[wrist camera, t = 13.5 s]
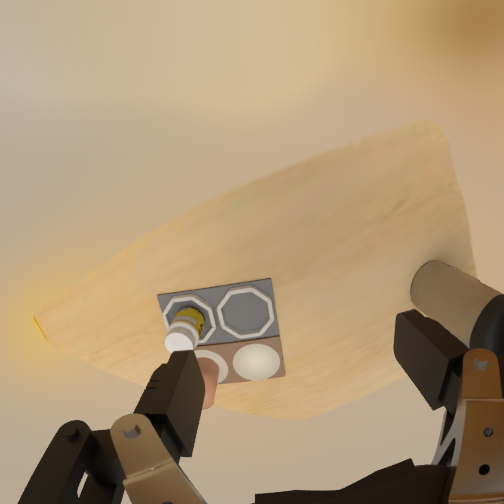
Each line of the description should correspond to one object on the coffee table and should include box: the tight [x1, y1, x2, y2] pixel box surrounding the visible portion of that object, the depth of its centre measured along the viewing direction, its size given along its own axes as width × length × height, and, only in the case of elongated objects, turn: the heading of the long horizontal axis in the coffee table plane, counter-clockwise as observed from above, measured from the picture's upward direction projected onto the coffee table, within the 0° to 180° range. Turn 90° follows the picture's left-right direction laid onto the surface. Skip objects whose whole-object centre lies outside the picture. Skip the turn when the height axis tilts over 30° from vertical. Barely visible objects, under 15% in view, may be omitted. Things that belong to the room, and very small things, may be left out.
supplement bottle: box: [165, 306, 205, 354], centre depth 37 cm, size 5×5×8 cm
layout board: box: [157, 278, 285, 410], centre depth 39 cm, size 18×19×9 cm
